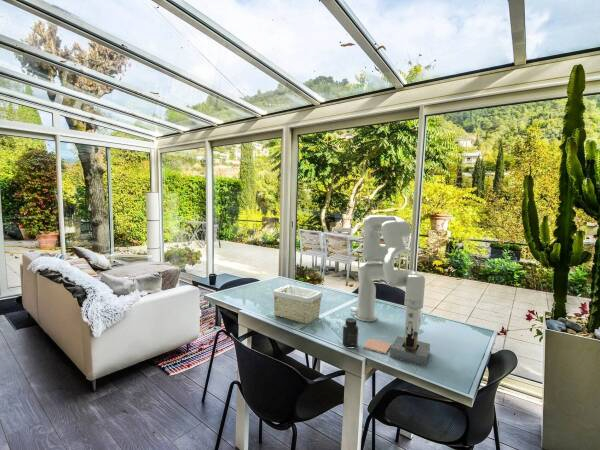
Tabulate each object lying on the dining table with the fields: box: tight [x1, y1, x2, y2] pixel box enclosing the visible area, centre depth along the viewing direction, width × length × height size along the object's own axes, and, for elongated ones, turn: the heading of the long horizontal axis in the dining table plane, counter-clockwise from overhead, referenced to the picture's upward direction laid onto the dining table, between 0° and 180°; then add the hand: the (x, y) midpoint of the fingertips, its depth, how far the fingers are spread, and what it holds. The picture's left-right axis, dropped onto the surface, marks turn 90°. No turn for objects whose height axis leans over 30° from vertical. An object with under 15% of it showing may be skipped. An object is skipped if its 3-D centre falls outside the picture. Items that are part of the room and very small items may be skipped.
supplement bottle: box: [341, 317, 359, 348], centre depth 140 cm, size 7×7×12 cm
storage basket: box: [272, 284, 323, 325], centre depth 173 cm, size 24×16×15 cm
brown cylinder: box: [404, 329, 419, 350], centre depth 134 cm, size 5×5×10 cm
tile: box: [362, 338, 392, 355], centre depth 140 cm, size 10×10×1 cm
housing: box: [389, 335, 431, 367], centre depth 134 cm, size 14×14×4 cm
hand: (410, 343), depth 134 cm, fingers closed on brown cylinder, 5 cm apart
